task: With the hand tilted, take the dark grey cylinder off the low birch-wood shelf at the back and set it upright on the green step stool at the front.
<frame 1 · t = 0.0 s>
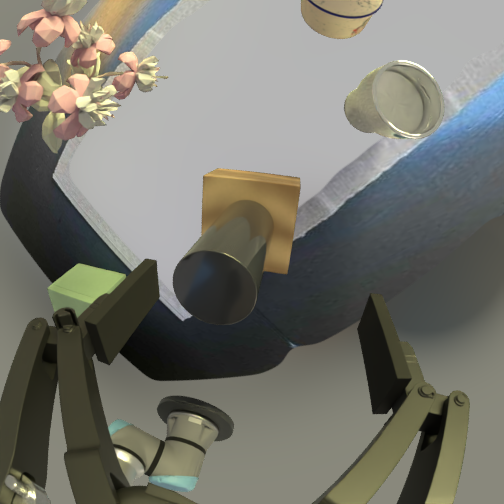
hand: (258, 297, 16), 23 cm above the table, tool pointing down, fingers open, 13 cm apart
dark grey cylinder: (246, 226, 33), point 6 cm above the table, touching low shelf
beer glass: (366, 110, 30), on the table
low shelf: (254, 211, 38), on the table
teacup with lid: (335, 6, 24), on the table
green step stool: (105, 294, 49), on the table
flower: (121, 76, 32), on the table
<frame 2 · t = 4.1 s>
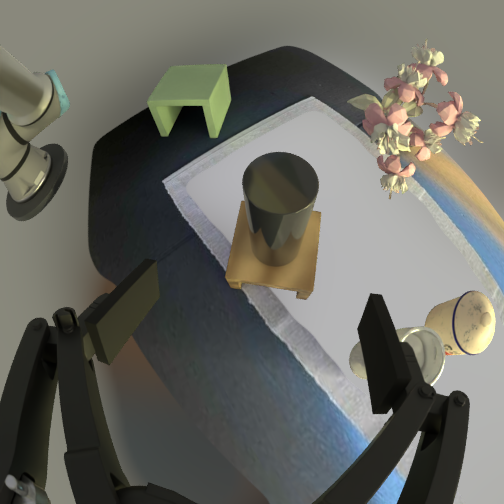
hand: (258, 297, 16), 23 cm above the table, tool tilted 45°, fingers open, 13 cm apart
dark grey cylinder: (275, 242, 36), point 6 cm above the table, touching low shelf
beer glass: (367, 358, 36), on the table
low shelf: (274, 257, 41), on the table
teacup with lid: (448, 331, 36), on the table
green step stool: (197, 116, 53), on the table
flower: (390, 165, 47), on the table
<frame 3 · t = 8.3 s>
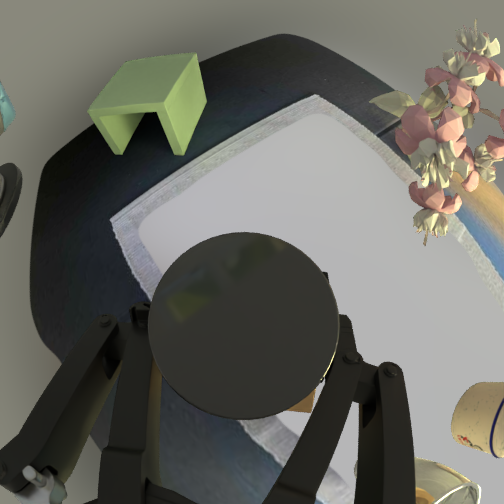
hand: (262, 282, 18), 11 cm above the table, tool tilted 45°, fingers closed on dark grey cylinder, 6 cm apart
dark grey cylinder: (255, 340, 22), point 6 cm above the table, touching gripper, low shelf
beer glass: (378, 463, 22), on the table
teacup with lid: (478, 413, 22), on the table
green step stool: (160, 125, 39), on the table
flower: (422, 192, 33), on the table
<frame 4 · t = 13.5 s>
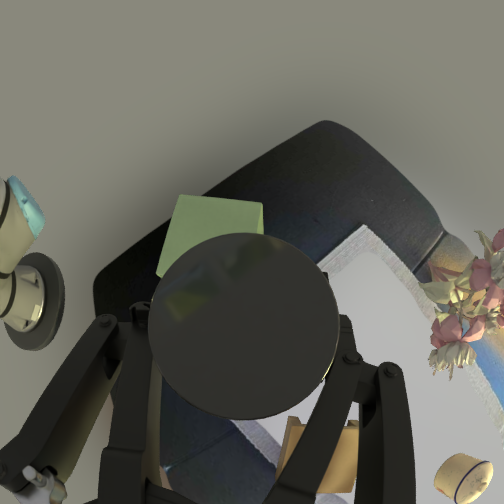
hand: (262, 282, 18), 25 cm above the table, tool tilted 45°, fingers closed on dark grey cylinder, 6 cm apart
dark grey cylinder: (256, 340, 22), point 20 cm above the table, touching gripper
low shelf: (316, 449, 34), on the table
teacup with lid: (454, 471, 28), on the table
green step stool: (221, 261, 45), on the table
flower: (440, 324, 39), on the table
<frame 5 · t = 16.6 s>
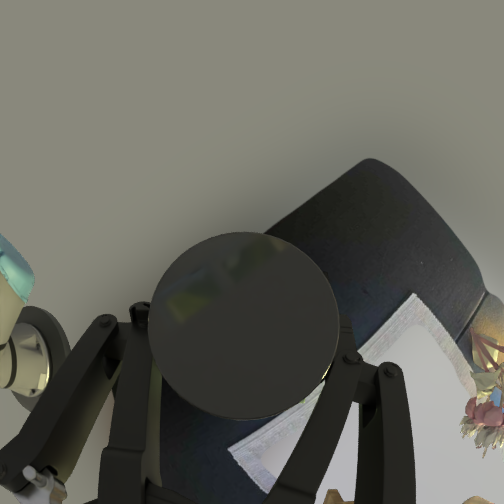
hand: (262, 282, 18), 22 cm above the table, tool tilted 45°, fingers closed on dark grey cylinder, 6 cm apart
dark grey cylinder: (255, 340, 22), point 17 cm above the table, touching gripper
flower: (473, 389, 32), on the table
when the fingers open (15 cm above the table, at t = 18.9 s): dark grey cylinder stays where it is, resting on green step stool.
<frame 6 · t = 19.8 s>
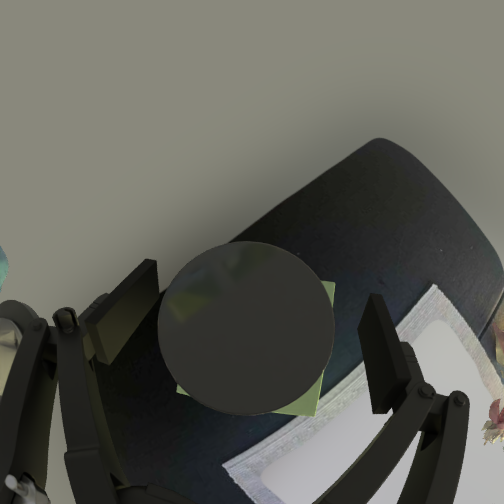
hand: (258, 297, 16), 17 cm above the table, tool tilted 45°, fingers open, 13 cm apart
dark grey cylinder: (257, 341, 23), point 10 cm above the table, touching green step stool
green step stool: (259, 343, 32), on the table
flower: (496, 391, 26), on the table
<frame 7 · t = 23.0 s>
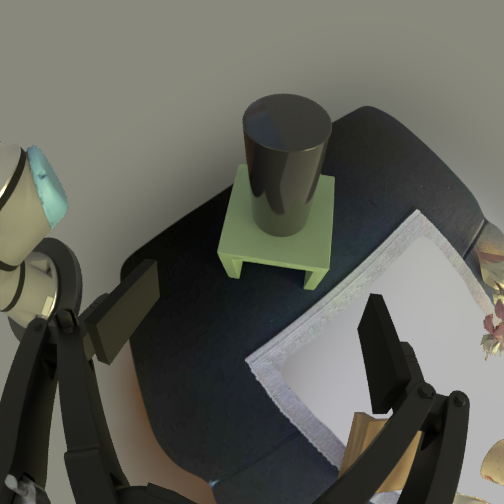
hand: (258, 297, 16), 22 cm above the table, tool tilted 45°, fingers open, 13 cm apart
dark grey cylinder: (280, 211, 31), point 10 cm above the table, touching green step stool
beer glass: (437, 497, 23), on the table
low shelf: (380, 446, 29), on the table
teacup with lid: (497, 457, 23), on the table
green step stool: (277, 244, 41), on the table
flower: (488, 310, 34), on the table
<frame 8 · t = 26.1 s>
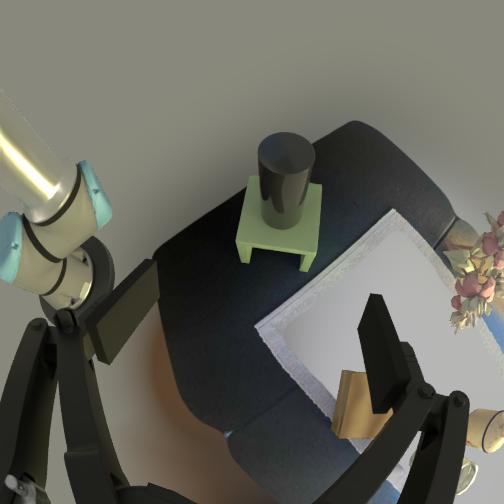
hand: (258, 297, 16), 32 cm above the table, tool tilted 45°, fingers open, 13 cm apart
dark grey cylinder: (281, 211, 42), point 10 cm above the table, touching green step stool
beer glass: (421, 457, 35), on the table
low shelf: (365, 401, 40), on the table
teacup with lid: (476, 426, 35), on the table
green step stool: (278, 236, 52), on the table
flower: (457, 292, 46), on the table
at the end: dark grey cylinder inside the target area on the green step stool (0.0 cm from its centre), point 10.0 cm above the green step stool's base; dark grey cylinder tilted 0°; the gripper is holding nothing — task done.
